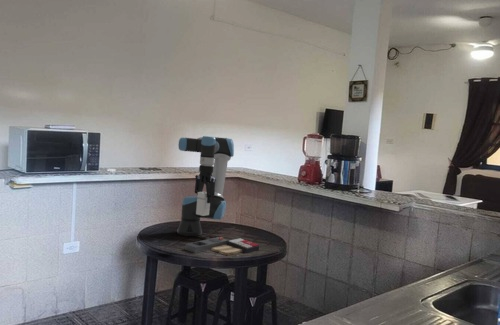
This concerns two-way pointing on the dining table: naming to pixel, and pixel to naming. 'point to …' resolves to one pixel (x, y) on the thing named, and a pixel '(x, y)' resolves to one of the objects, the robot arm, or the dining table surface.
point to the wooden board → (226, 250)
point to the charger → (201, 204)
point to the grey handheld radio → (205, 244)
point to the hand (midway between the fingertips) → (203, 207)
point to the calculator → (243, 245)
